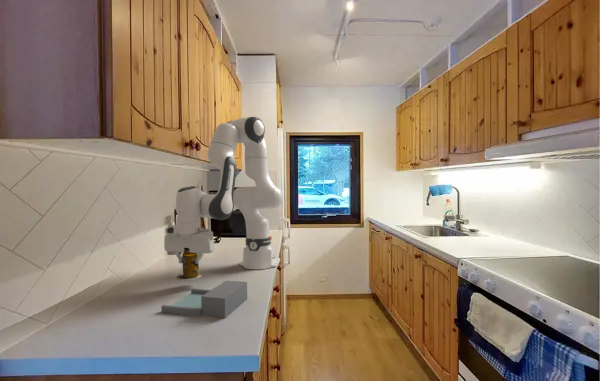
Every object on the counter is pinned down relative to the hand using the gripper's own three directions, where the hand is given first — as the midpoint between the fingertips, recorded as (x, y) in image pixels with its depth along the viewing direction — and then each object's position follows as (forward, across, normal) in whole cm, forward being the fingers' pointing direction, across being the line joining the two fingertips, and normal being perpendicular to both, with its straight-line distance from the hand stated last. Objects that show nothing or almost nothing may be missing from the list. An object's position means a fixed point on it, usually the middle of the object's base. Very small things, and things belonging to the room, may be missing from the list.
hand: (189, 263), depth 122 cm
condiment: (+6, +1, 0) cm, 6 cm away
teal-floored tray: (+9, -16, +14) cm, 23 cm away
